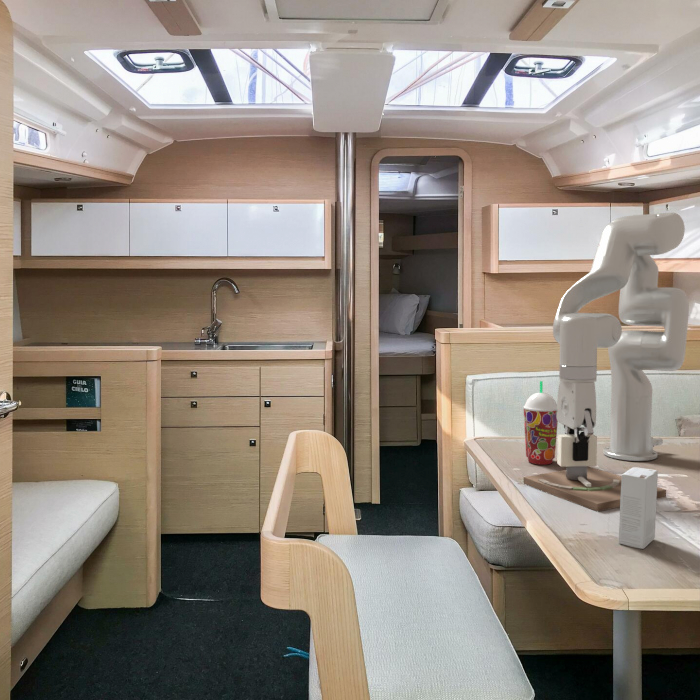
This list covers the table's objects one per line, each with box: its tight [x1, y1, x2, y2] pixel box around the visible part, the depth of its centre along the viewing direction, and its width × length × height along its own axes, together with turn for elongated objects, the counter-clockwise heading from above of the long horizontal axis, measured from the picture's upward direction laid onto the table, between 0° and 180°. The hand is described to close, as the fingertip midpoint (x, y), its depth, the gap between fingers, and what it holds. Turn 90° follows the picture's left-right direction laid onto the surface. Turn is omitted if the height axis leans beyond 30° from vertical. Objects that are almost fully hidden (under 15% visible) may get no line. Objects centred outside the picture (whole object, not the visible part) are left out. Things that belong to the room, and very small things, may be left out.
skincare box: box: [618, 466, 659, 550], centre depth 113 cm, size 6×4×12 cm
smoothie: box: [523, 380, 559, 466], centre depth 165 cm, size 8×8×20 cm
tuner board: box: [522, 466, 667, 512], centre depth 143 cm, size 19×21×2 cm
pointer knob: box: [556, 433, 598, 487], centre depth 143 cm, size 10×8×9 cm
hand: (576, 457), depth 145 cm, fingers closed on pointer knob, 3 cm apart
